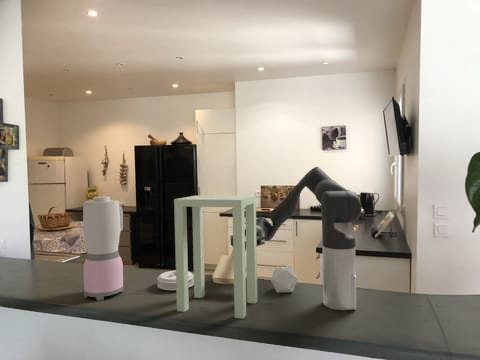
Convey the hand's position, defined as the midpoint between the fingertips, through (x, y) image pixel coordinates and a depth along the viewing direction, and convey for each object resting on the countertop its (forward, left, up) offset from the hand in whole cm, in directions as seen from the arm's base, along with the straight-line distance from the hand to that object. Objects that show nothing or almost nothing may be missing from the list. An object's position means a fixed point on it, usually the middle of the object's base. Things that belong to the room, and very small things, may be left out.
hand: (239, 245), depth 127 cm
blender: (+40, +19, -14) cm, 47 cm away
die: (-16, +2, -14) cm, 22 cm away
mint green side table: (0, +20, -14) cm, 25 cm away
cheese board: (0, +3, -5) cm, 6 cm away
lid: (+21, +7, -14) cm, 26 cm away
